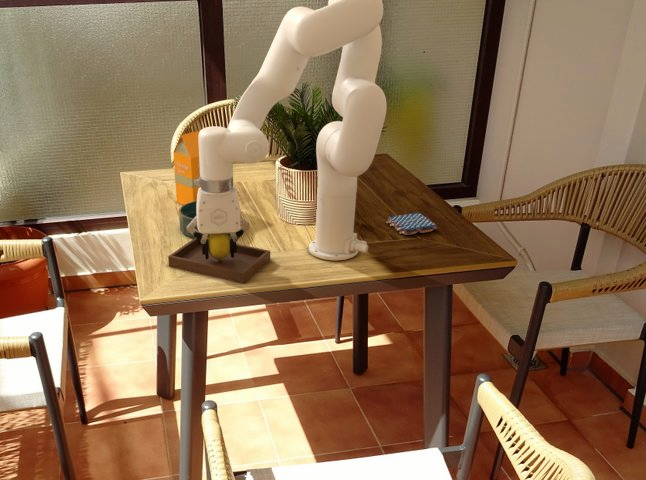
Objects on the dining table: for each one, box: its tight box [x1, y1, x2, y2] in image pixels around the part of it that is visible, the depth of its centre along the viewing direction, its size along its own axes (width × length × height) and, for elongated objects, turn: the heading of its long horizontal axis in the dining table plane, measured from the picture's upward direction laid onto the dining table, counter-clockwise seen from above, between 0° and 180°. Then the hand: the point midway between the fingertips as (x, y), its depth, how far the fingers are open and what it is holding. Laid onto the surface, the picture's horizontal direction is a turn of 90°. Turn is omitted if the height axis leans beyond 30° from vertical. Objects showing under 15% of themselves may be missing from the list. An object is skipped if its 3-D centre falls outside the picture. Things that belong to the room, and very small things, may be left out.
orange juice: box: [172, 129, 202, 206], centre depth 208 cm, size 8×9×20 cm
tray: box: [167, 238, 271, 284], centre depth 178 cm, size 21×14×3 cm
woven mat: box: [386, 212, 438, 236], centre depth 198 cm, size 10×11×2 cm
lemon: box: [208, 233, 231, 260], centre depth 176 cm, size 6×6×8 cm
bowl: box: [178, 201, 231, 239], centre depth 195 cm, size 15×15×6 cm
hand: (219, 255), depth 178 cm, fingers closed on lemon, 5 cm apart
